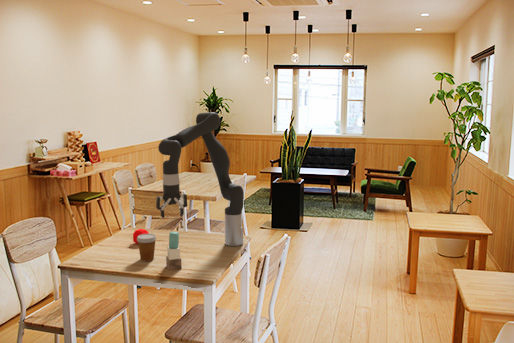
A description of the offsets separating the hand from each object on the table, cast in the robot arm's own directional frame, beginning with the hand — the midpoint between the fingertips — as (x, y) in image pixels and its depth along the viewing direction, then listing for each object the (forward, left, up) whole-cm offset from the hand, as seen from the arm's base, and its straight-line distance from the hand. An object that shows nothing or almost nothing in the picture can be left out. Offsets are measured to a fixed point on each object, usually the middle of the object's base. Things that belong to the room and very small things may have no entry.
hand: (172, 216), depth 238 cm
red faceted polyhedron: (+9, -43, -25) cm, 51 cm away
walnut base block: (0, 0, -25) cm, 25 cm away
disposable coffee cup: (+10, -16, -25) cm, 31 cm away
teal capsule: (0, 0, -15) cm, 15 cm away
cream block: (0, 0, -20) cm, 20 cm away
